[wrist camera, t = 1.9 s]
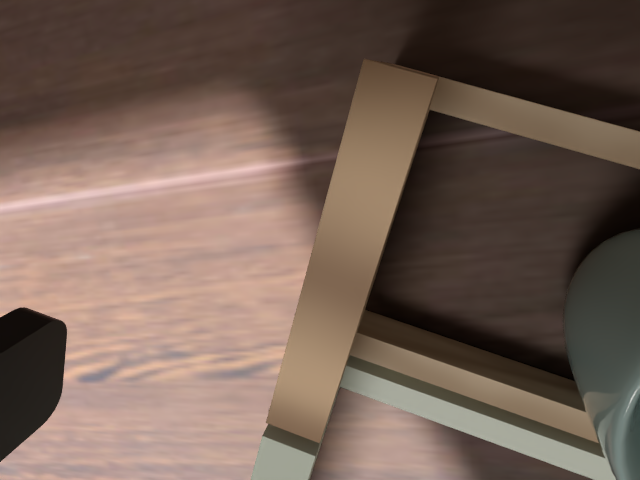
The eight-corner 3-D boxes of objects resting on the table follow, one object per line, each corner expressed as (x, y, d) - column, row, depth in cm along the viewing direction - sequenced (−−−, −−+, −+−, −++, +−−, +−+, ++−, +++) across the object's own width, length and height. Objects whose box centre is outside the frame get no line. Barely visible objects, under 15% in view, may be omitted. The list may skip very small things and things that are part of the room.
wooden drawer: (393, 63, 21) (363, 58, 14) (896, 201, 19) (1211, 291, 11) (320, 317, 26) (265, 422, 18) (720, 456, 23) (857, 648, 16)
